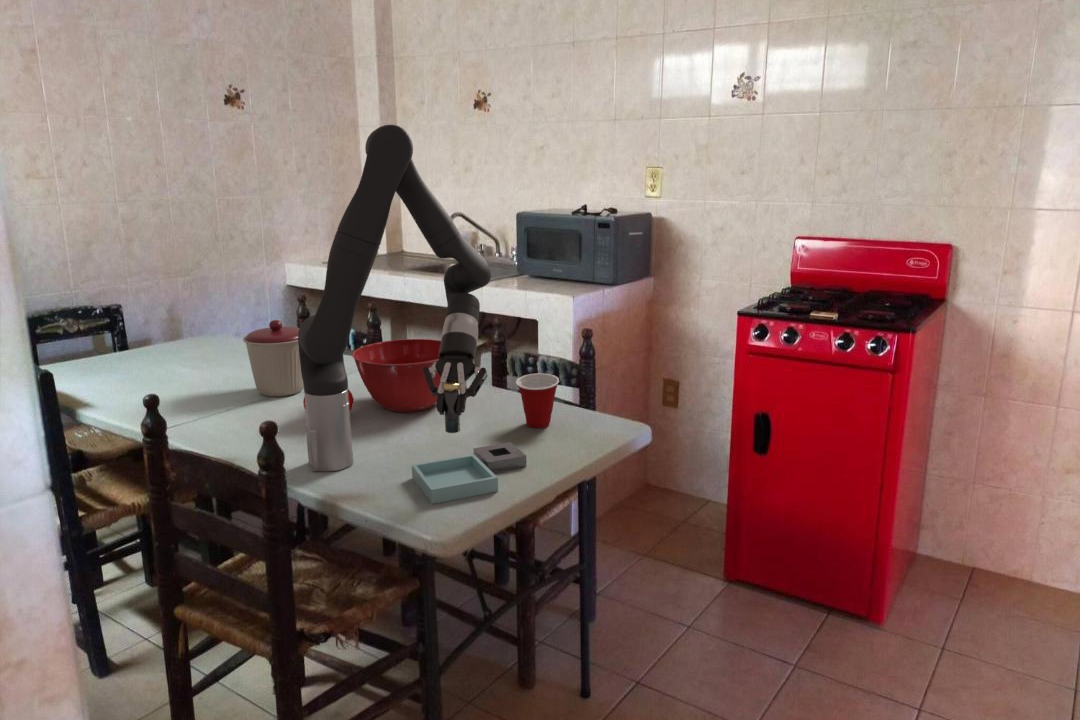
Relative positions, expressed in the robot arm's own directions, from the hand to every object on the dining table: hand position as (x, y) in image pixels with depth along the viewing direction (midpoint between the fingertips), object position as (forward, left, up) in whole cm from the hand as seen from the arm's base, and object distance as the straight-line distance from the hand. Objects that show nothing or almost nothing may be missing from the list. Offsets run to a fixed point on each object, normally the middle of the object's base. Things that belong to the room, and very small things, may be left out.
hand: (450, 413), depth 157 cm
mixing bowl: (+7, +58, -17) cm, 60 cm away
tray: (+1, +2, -16) cm, 16 cm away
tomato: (-15, +54, -17) cm, 58 cm away
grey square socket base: (+14, +9, -16) cm, 23 cm away
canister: (-23, +85, -17) cm, 89 cm away
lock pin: (+1, +2, -4) cm, 5 cm away
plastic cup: (+32, +28, -17) cm, 45 cm away
